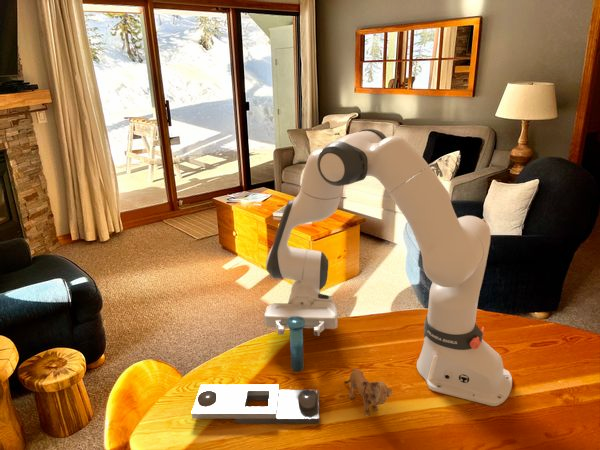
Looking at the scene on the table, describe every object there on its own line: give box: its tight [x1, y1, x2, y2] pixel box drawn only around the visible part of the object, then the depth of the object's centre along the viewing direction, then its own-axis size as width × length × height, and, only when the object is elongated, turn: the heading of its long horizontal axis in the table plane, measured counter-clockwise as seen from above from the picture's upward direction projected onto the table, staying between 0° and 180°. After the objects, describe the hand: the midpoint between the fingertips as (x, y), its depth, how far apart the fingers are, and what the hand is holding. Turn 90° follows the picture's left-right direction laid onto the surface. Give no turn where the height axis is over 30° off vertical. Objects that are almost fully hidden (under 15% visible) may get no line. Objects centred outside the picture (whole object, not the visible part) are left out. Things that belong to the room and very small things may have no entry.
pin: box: [287, 316, 305, 372], centre depth 117 cm, size 4×4×14 cm
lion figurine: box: [343, 368, 393, 416], centre depth 106 cm, size 15×5×9 cm, turn 33°
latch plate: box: [191, 384, 320, 425], centre depth 105 cm, size 28×9×4 cm, turn 88°
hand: (298, 333), depth 120 cm, fingers open, 8 cm apart
